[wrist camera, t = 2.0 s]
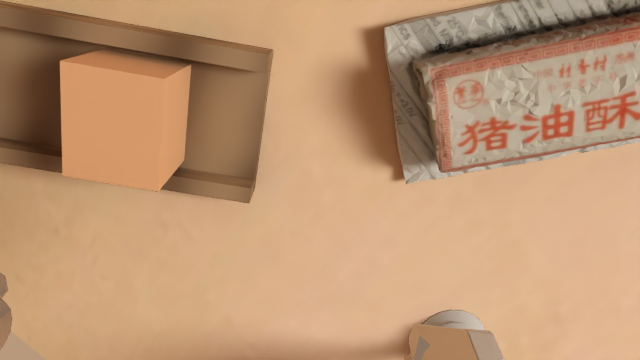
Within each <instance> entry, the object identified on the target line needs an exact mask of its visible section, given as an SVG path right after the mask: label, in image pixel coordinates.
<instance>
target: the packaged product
mask: <svg viewBox="0 0 640 360" xmlns="http://www.w3.org/2000/svg"><path fill="white" fill-rule="evenodd" d="M384 47H385V57H386V62H387V67H388V72H389V77H390V82H391V88H392V102H393V115H394V123H395V131H396V139H397V147H398V152H399V156H400V160H401V164H402V168H403V172H404V177H405V181H406V184H409V183H413V182H418V181H424V180H429V179H440V178H445V177H450V176H455V175H459V174H462V173H469V172H475V171H480V170H486V169H493V168H499V167H505V166H511V165H517V164H523V163H528V162H533V161H540V160H547V159H552V158H558V157H562V156H565V155H568V154H571V153H574V152H581V153H584V152H589V151H595V150H600V149H606V148H612V147H617V146H621V145H625V144H633V143H639V142H640V0H501V1H496V2H491V3H487V4H481V5H476V6H471V7H466V8H461V9H456V10H451V11H446V12H442V13H437V14H432V15H427V16H422V17H417V18H413V19H409V20H406V21H403V22H400V23H397V24H394V25H390V26H387V27H384Z"/></svg>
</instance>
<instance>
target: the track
mask: <svg viewBox="0 0 640 360" xmlns="http://www.w3.org/2000/svg"><path fill="white" fill-rule="evenodd" d="M102 49H108V50H114V51H120V52H125V53H131V54H137V55H142V56H148V57H154V58H159V59H165V60H171V61H176V62H182V63H188V64H191V75H190V89H189V102H188V115H187V129H186V142H185V156H184V161H183V162H182V164H181V165H180V166H179V167H178V168H177V170H176V171H175V172H174V173H173V174H172V176H171V177H170V178H169V179H168V180H167V182H166V183H165V184H164V185H163V186H162V188H161V189H163V190H169V191H175V192H182V193H188V194H194V195H200V196H206V197H212V198H219V199H225V200H231V201H237V202H243V203H250V200H251V197H252V194H253V192H254V189H255V183H256V175H257V168H258V161H259V153H260V146H261V138H262V131H263V123H264V116H265V109H266V101H267V94H268V86H269V79H270V72H271V64H272V57H273V50H272V49H266V48H261V47H255V46H250V45H244V44H239V43H233V42H228V41H222V40H216V39H211V38H205V37H200V36H194V35H189V34H183V33H178V32H172V31H166V30H161V29H155V28H150V27H144V26H139V25H133V24H127V23H122V22H116V21H111V20H105V19H100V18H94V17H89V16H83V15H77V14H72V13H66V12H61V11H55V10H50V9H44V8H39V7H33V6H27V5H22V4H16V3H11V2H5V1H0V163H3V164H9V165H16V166H22V167H28V168H34V169H40V170H46V171H52V172H59V173H62V134H61V92H60V61H61V60H64V59H68V58H72V57H76V56H79V55H83V54H87V53H90V52H94V51H98V50H102Z"/></svg>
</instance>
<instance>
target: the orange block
mask: <svg viewBox="0 0 640 360" xmlns="http://www.w3.org/2000/svg"><path fill="white" fill-rule="evenodd" d="M190 75H191V64H188V63H182V62H176V61H171V60H165V59H159V58H154V57H148V56H142V55H137V54H131V53H125V52H120V51H114V50H108V49H102V50H98V51H94V52H90V53H87V54H83V55H79V56H76V57H72V58H68V59H64V60H61V61H60V92H61V134H62V176H66V177H72V178H78V179H84V180H90V181H96V182H103V183H109V184H115V185H121V186H127V187H133V188H140V189H146V190H152V191H159V190H160V189H161V188H162V186H163V185H164V184H165V183H166V182H167V180H168V179H169V178H170V177H171V176H172V174H173V173H174V172H175V171H176V170H177V168H178V167H179V166H180V165H181V164H182V162H183V161H184V156H185V142H186V129H187V115H188V102H189V89H190Z"/></svg>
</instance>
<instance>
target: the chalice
mask: <svg viewBox="0 0 640 360" xmlns="http://www.w3.org/2000/svg"><path fill="white" fill-rule="evenodd" d="M423 325H432V326H440V327H448V328H457V329H464V328H465V329H475V330H485V329H484V326H483V325H482V323H481V321H480V320H479V319H478V318H476V317H475V316H474V315H472V314H470V313H467V312H464V311H459V310H449V311H444V312H440V313H438V314H436V315H434V316H432V317H430V318H429V319H428V320H427V321H426V322H424V323H423Z"/></svg>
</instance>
